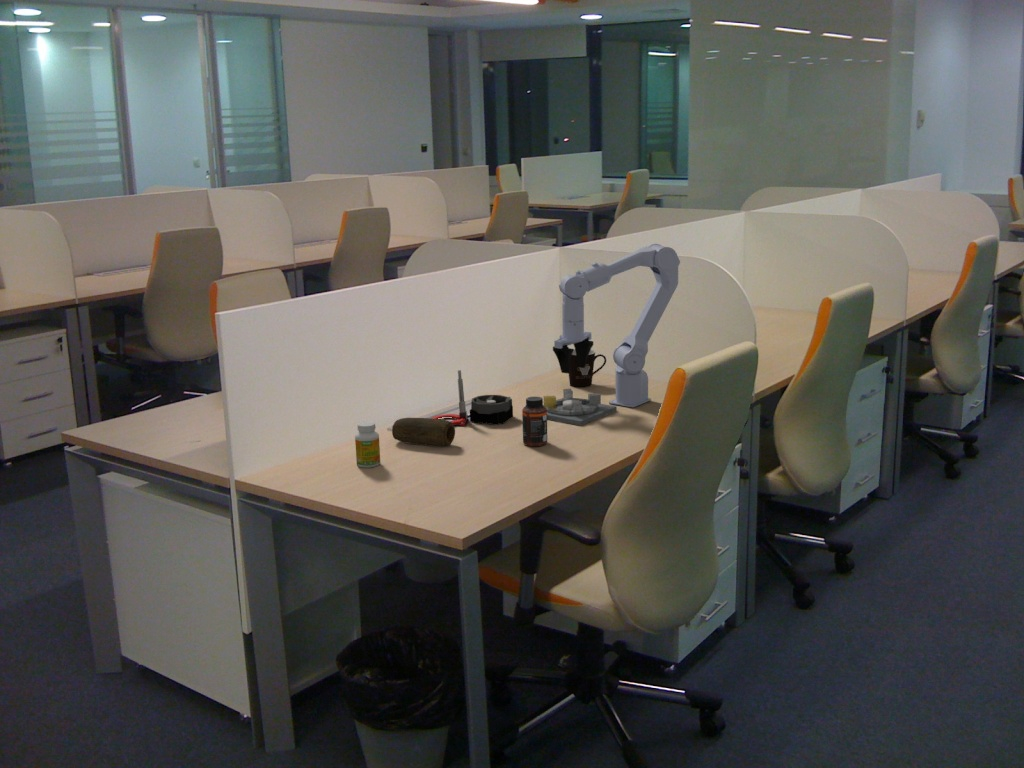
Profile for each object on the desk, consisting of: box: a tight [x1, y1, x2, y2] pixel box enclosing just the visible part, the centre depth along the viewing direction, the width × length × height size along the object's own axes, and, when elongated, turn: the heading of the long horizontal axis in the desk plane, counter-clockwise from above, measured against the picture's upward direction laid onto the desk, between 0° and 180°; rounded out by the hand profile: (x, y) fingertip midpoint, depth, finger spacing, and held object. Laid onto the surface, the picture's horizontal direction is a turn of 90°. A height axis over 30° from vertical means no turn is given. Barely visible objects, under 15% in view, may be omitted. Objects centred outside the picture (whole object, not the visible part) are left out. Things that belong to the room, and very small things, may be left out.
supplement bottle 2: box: [521, 396, 549, 448], centre depth 238 cm, size 6×6×11 cm
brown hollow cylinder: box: [391, 417, 456, 447], centre depth 241 cm, size 15×7×7 cm, turn 71°
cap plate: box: [543, 397, 618, 427], centre depth 264 cm, size 17×17×3 cm
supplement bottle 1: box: [354, 420, 381, 469], centre depth 226 cm, size 5×5×10 cm
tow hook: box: [431, 369, 468, 427], centre depth 258 cm, size 9×14×10 cm
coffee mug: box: [568, 348, 607, 389], centre depth 292 cm, size 12×9×10 cm
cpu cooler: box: [469, 394, 514, 426], centre depth 260 cm, size 10×6×10 cm
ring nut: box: [543, 388, 602, 416], centre depth 264 cm, size 15×15×4 cm
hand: (573, 370), depth 268 cm, fingers open, 7 cm apart
